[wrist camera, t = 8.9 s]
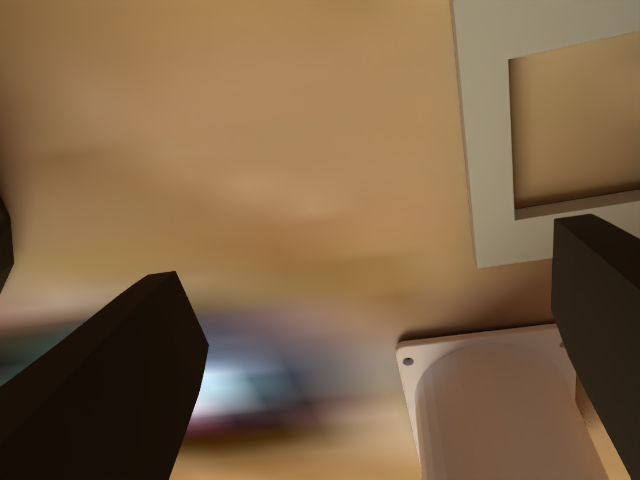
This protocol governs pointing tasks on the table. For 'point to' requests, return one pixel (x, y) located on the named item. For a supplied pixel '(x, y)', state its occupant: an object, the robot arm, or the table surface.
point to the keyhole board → (495, 124)
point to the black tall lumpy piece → (5, 245)
